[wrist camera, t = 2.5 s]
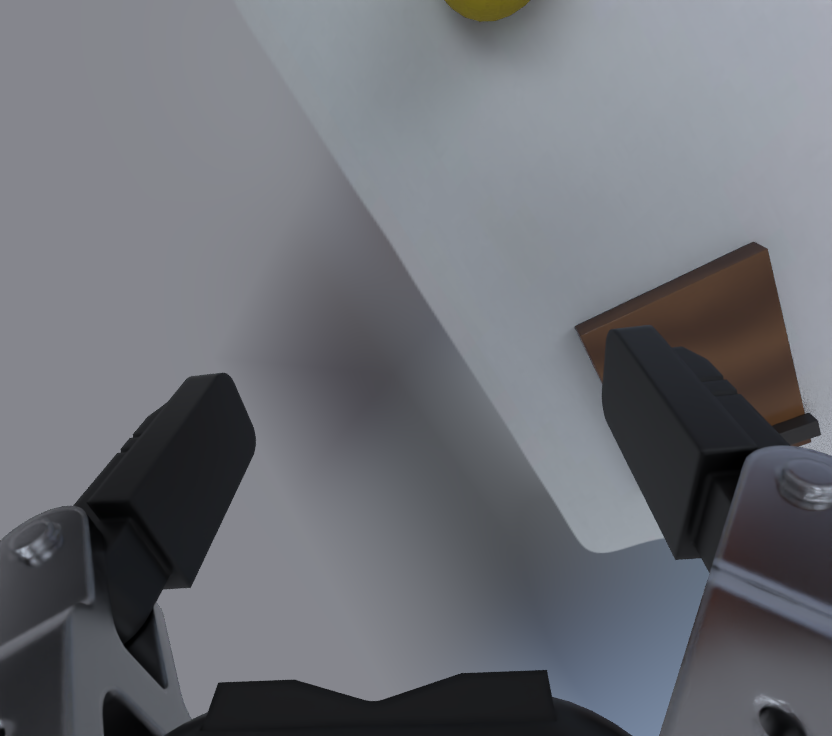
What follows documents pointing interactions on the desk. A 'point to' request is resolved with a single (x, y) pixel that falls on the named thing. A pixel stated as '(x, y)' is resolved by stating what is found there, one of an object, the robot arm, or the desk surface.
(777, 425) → the knife
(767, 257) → the cutting board
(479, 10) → the lemon
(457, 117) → the desk surface
